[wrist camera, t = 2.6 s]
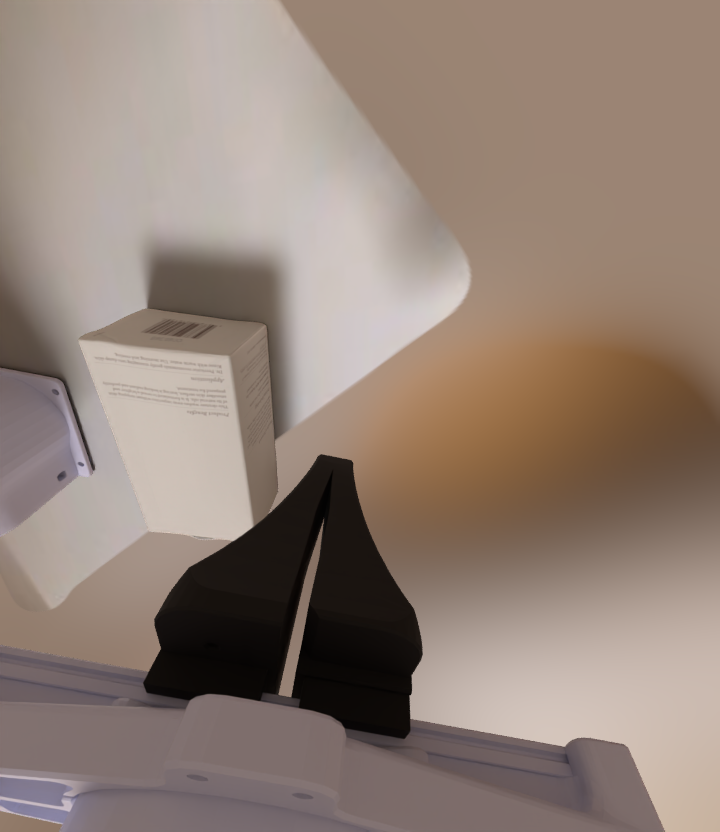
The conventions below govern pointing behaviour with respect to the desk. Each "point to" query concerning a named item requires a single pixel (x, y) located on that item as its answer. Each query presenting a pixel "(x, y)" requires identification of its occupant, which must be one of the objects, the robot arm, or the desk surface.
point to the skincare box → (189, 418)
